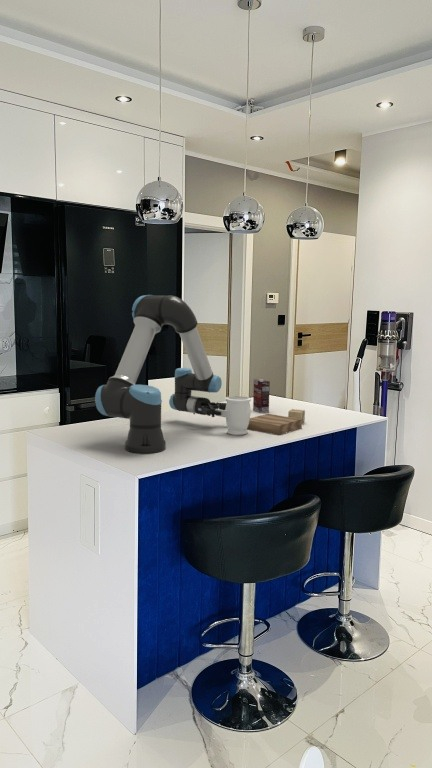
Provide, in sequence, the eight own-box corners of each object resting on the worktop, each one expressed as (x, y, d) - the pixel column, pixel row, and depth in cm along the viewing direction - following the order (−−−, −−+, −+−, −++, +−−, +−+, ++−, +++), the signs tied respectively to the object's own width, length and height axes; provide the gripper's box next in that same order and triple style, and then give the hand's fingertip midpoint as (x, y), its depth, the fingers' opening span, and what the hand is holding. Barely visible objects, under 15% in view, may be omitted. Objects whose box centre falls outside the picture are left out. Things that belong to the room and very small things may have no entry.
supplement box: (252, 410, 304) (253, 379, 302) (260, 409, 306) (261, 378, 304) (260, 413, 297) (261, 381, 294) (269, 412, 299) (270, 381, 296)
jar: (228, 436, 247) (229, 400, 245) (221, 430, 257) (222, 396, 255) (253, 435, 250) (254, 399, 248) (245, 429, 260) (246, 395, 258)
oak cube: (300, 425, 271) (301, 412, 270) (288, 424, 273) (288, 411, 272) (304, 423, 276) (304, 410, 276) (291, 421, 279) (292, 409, 278)
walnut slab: (279, 435, 251) (279, 425, 251) (244, 428, 262) (244, 419, 262) (301, 428, 265) (301, 419, 265) (267, 422, 276) (267, 413, 276)
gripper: (216, 410, 276) (254, 416, 263) (180, 418, 257) (219, 425, 244) (217, 393, 275) (255, 399, 262) (180, 400, 256) (219, 407, 243)
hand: (238, 412), depth 253 cm, fingers open, 13 cm apart
